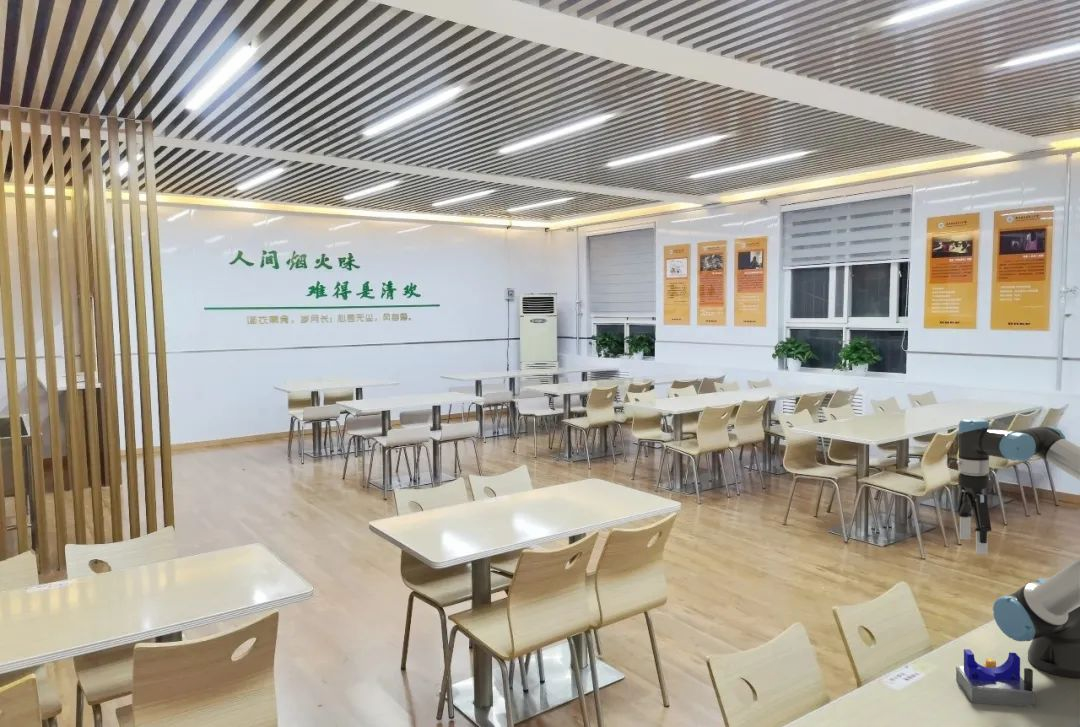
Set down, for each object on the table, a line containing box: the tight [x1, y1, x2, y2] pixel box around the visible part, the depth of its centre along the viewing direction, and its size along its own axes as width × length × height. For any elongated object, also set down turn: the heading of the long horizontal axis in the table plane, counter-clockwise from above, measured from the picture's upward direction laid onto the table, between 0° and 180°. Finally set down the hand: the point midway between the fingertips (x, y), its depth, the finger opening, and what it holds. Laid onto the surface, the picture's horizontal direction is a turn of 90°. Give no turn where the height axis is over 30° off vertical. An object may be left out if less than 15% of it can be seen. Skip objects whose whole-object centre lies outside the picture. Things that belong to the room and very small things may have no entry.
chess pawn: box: [982, 658, 998, 668], centre depth 198 cm, size 3×3×4 cm
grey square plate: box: [955, 665, 1036, 708], centre depth 187 cm, size 14×12×9 cm
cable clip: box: [963, 648, 1021, 682], centre depth 187 cm, size 12×4×6 cm, turn 76°
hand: (973, 546), depth 209 cm, fingers open, 13 cm apart
